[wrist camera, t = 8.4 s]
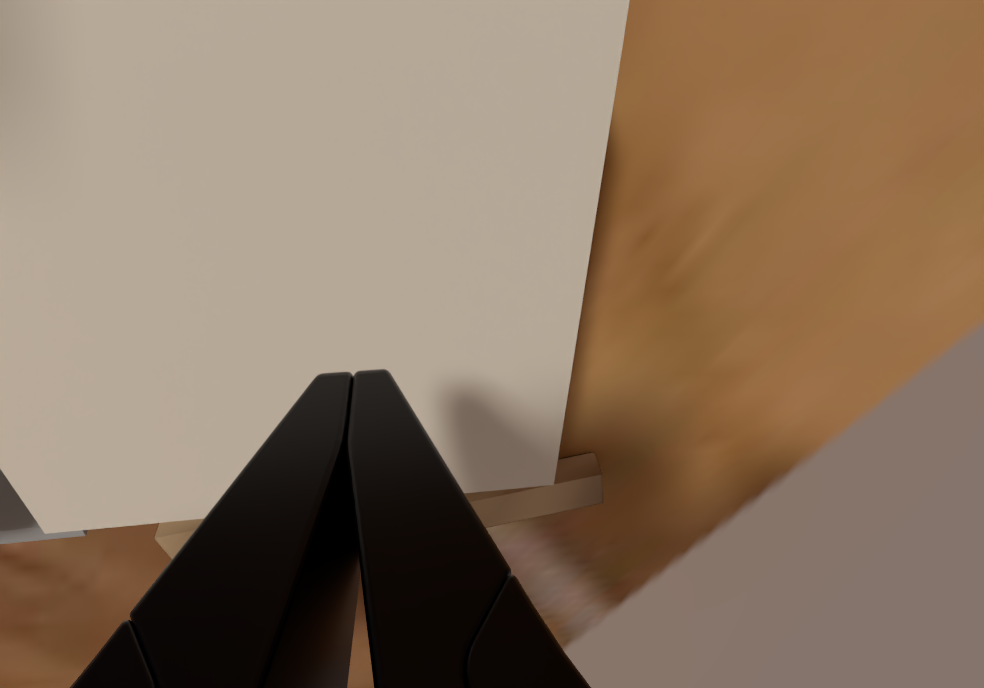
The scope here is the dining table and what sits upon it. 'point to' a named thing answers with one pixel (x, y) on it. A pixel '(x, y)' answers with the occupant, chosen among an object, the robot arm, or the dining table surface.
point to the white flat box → (288, 232)
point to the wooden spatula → (480, 501)
